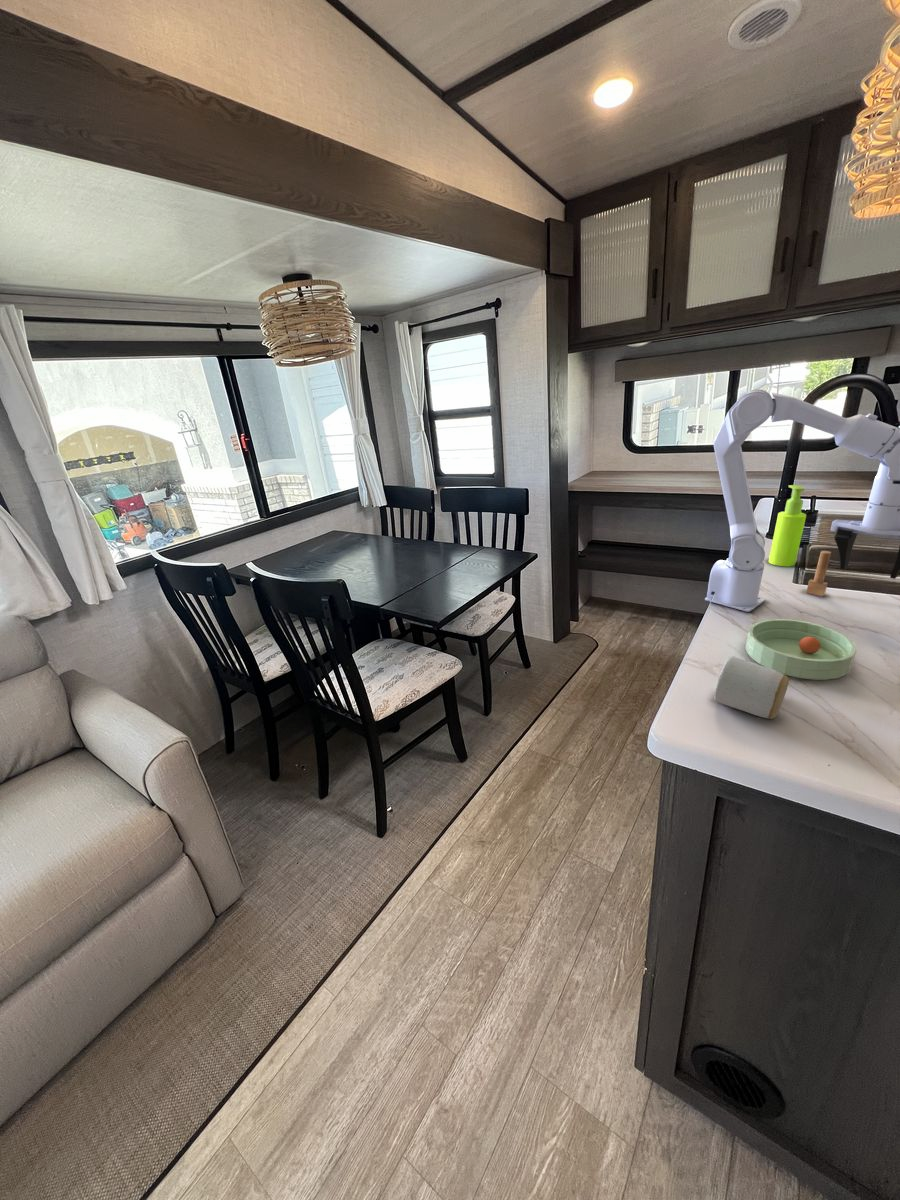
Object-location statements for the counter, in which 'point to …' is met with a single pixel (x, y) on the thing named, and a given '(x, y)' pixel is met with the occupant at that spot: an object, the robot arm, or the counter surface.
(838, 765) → the counter surface
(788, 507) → the soap dispenser
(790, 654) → the bowl
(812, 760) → the counter surface
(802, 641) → the ball
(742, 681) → the ceramic mug
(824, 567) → the brown handled stamp
